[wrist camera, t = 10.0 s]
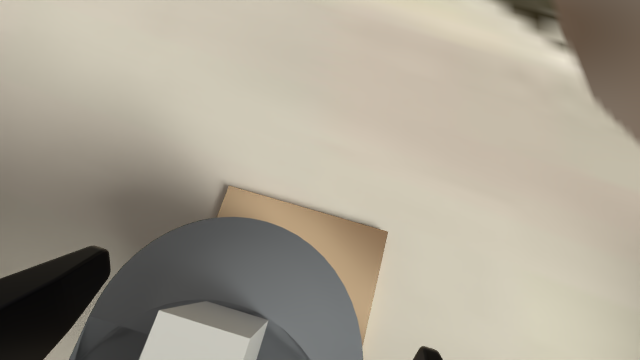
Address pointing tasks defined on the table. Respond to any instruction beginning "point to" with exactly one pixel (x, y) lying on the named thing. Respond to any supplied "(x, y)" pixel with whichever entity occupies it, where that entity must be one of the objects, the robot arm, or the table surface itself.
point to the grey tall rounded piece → (223, 299)
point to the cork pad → (322, 242)
